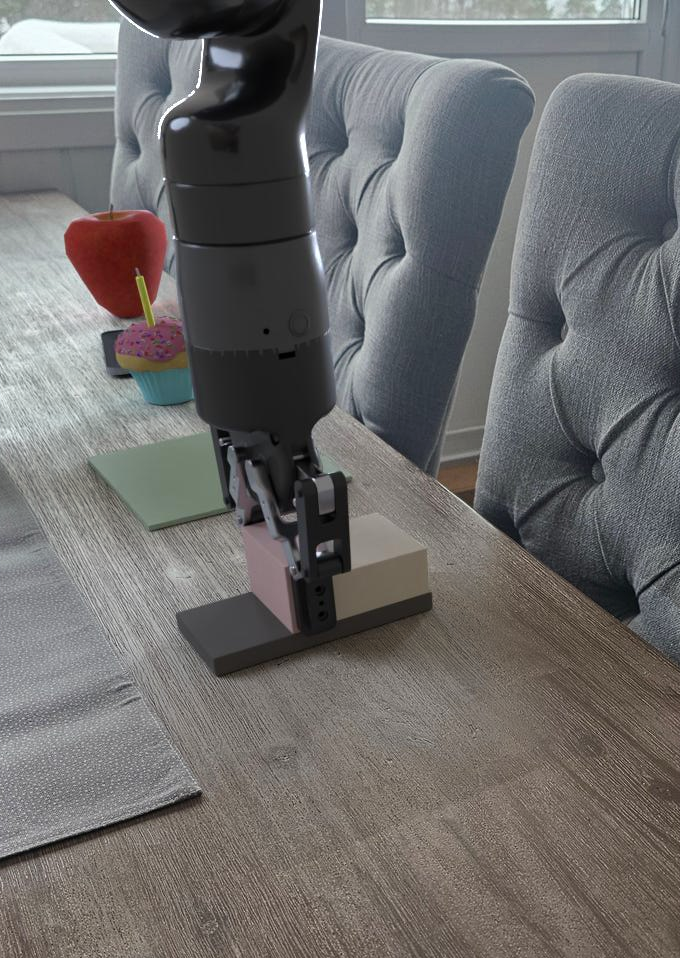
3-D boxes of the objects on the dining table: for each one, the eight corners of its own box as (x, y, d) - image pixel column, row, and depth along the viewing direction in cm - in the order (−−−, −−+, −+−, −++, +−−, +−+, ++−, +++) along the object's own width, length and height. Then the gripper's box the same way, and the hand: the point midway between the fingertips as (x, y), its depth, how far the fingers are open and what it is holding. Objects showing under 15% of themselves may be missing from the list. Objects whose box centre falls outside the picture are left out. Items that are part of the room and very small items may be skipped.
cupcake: (195, 413, 100) (172, 274, 94) (107, 410, 102) (78, 273, 95) (230, 383, 107) (211, 252, 101) (146, 380, 109) (123, 251, 102)
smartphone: (169, 324, 123) (183, 360, 110) (171, 332, 123) (185, 369, 111) (99, 331, 121) (105, 369, 109) (100, 340, 121) (107, 378, 109)
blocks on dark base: (216, 677, 63) (200, 590, 60) (178, 630, 67) (162, 546, 64) (433, 609, 69) (429, 527, 66) (384, 569, 73) (378, 491, 70)
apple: (159, 297, 137) (141, 190, 130) (192, 315, 129) (174, 203, 122) (68, 312, 131) (44, 202, 125) (97, 332, 124) (73, 216, 117)
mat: (149, 531, 79) (148, 526, 79) (87, 462, 91) (86, 457, 91) (352, 480, 86) (352, 475, 86) (270, 422, 98) (270, 417, 98)
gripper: (142, 306, 62) (191, 577, 71) (240, 371, 51) (283, 678, 60) (269, 286, 65) (301, 547, 74) (385, 343, 55) (405, 638, 63)
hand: (293, 605), depth 67 cm, fingers closed on blocks on dark base, 6 cm apart
